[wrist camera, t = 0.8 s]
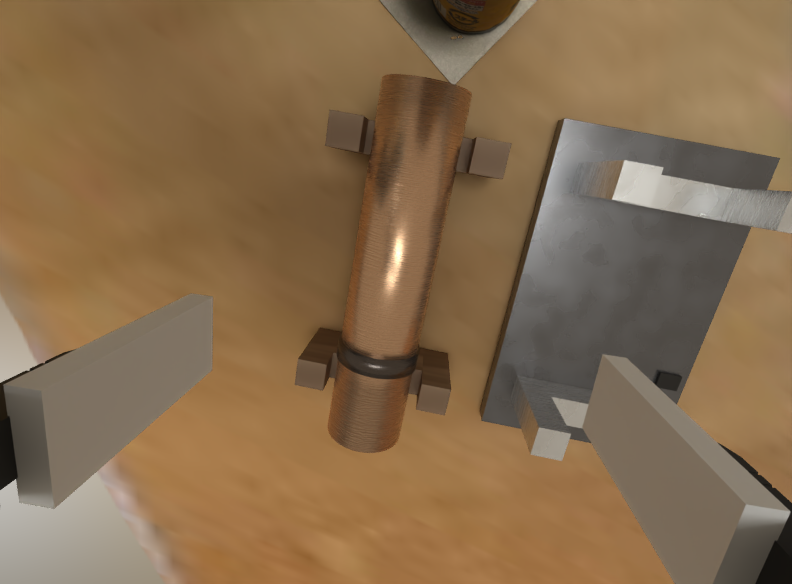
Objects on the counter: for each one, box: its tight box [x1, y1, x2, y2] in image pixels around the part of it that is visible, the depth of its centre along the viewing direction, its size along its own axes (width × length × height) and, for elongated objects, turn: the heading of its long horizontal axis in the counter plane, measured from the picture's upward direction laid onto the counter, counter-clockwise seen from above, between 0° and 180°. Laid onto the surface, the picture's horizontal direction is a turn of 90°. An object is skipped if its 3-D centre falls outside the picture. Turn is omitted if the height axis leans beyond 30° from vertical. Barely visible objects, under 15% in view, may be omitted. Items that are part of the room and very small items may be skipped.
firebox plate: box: [480, 118, 792, 461], centre depth 28 cm, size 23×14×8 cm, turn 170°
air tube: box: [328, 74, 472, 453], centre depth 27 cm, size 22×5×5 cm, turn 170°
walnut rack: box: [295, 110, 511, 415], centre depth 30 cm, size 18×11×6 cm, turn 170°
